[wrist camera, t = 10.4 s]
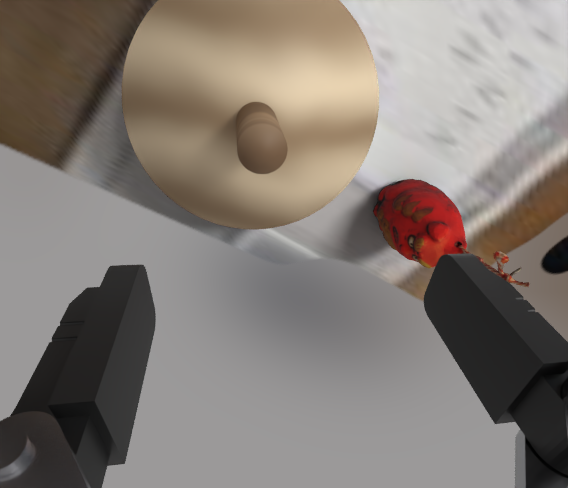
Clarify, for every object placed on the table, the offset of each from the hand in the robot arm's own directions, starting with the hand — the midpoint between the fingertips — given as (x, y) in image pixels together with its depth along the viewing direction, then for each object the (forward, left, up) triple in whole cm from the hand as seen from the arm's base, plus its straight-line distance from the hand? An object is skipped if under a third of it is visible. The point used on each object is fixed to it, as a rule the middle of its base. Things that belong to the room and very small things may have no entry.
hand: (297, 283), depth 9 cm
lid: (0, 0, -18) cm, 18 cm away
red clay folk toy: (+10, +16, -23) cm, 30 cm away
